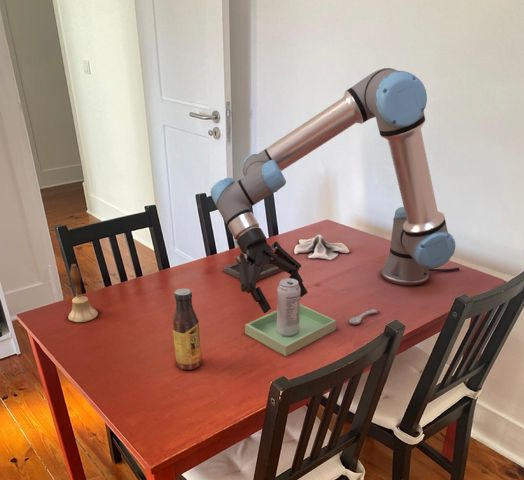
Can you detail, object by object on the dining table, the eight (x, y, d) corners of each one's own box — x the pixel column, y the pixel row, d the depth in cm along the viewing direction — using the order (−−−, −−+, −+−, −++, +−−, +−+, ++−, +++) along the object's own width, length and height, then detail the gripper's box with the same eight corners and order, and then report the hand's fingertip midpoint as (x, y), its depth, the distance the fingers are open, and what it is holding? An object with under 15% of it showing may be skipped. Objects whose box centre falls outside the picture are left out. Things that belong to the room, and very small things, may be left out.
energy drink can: (290, 324, 148) (291, 275, 140) (303, 334, 144) (305, 283, 136) (272, 330, 145) (272, 280, 137) (285, 340, 141) (286, 289, 133)
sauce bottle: (197, 372, 129) (191, 299, 118) (173, 369, 130) (164, 297, 120) (205, 358, 135) (199, 287, 124) (181, 355, 136) (174, 285, 125)
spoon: (346, 323, 149) (347, 317, 148) (371, 312, 156) (372, 306, 155) (354, 327, 147) (355, 321, 146) (379, 315, 154) (380, 309, 154)
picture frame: (249, 283, 172) (288, 268, 182) (249, 277, 171) (288, 262, 181) (223, 271, 180) (262, 257, 190) (223, 266, 179) (262, 252, 189)
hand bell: (89, 306, 159) (78, 256, 150) (103, 315, 154) (93, 264, 145) (63, 315, 154) (51, 264, 146) (77, 325, 149) (65, 273, 141)
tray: (295, 310, 156) (295, 301, 155) (335, 329, 146) (336, 320, 145) (245, 333, 145) (245, 324, 143) (285, 356, 135) (285, 346, 134)
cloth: (356, 249, 196) (358, 233, 193) (327, 264, 184) (328, 248, 181) (308, 235, 209) (309, 220, 205) (278, 249, 197) (278, 233, 194)
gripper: (274, 230, 152) (310, 294, 150) (205, 252, 137) (244, 323, 136) (288, 216, 145) (326, 283, 144) (217, 238, 131) (258, 312, 130)
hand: (286, 303), depth 140 cm, fingers open, 13 cm apart
